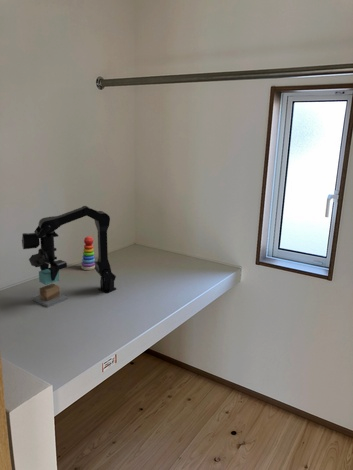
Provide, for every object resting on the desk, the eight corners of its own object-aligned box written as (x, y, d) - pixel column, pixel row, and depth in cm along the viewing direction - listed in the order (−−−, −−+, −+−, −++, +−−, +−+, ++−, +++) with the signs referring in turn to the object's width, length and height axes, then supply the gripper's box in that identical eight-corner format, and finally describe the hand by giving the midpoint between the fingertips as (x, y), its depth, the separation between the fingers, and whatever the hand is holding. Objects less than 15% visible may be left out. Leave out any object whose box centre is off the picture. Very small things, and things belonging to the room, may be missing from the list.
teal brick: (59, 280, 173) (58, 270, 171) (45, 284, 168) (45, 274, 166) (52, 277, 176) (52, 267, 174) (39, 281, 171) (38, 271, 169)
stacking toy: (92, 271, 210) (91, 239, 205) (78, 269, 211) (78, 237, 206) (97, 266, 217) (97, 235, 212) (84, 265, 219) (84, 234, 214)
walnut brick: (59, 296, 175) (59, 286, 174) (47, 301, 170) (46, 291, 168) (52, 293, 178) (52, 283, 177) (40, 298, 172) (39, 288, 171)
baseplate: (67, 298, 176) (67, 296, 175) (47, 307, 167) (47, 304, 166) (52, 292, 181) (52, 290, 181) (32, 300, 173) (32, 297, 172)
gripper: (18, 246, 166) (21, 279, 170) (45, 255, 156) (47, 290, 160) (40, 240, 175) (42, 272, 179) (66, 249, 165) (68, 282, 169)
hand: (49, 279), depth 171 cm, fingers closed on teal brick, 5 cm apart
